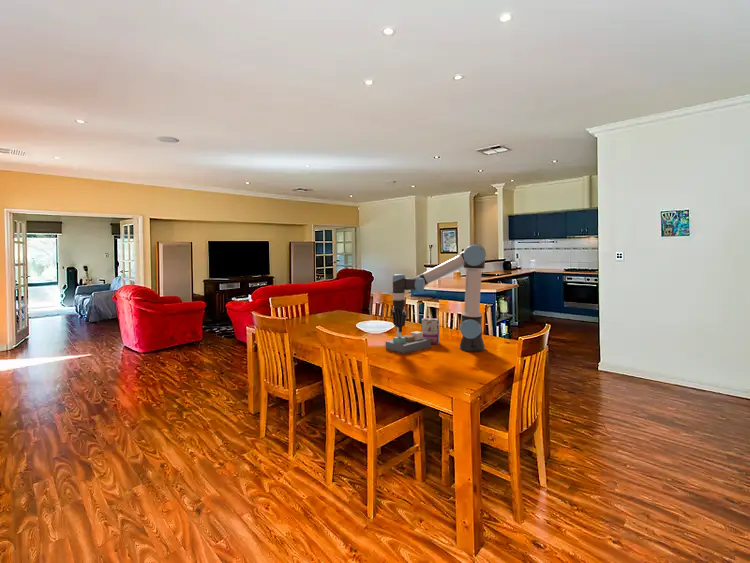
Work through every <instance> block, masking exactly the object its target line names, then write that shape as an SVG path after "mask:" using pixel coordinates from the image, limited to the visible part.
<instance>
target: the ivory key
mask: <svg viewBox="0 0 750 563" xmlns="http://www.w3.org/2000/svg"><path fill="white" fill-rule="evenodd" d="M410 335H411V336H414V340H420V339H423V332H421V331H418V330H416V331H411V332H410Z"/></svg>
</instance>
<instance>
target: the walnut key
mask: <svg viewBox="0 0 750 563" xmlns="http://www.w3.org/2000/svg"><path fill="white" fill-rule="evenodd" d="M402 337H405V338H406V342H411V341H415V340H414V336H411V334H406V335H402Z"/></svg>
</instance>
